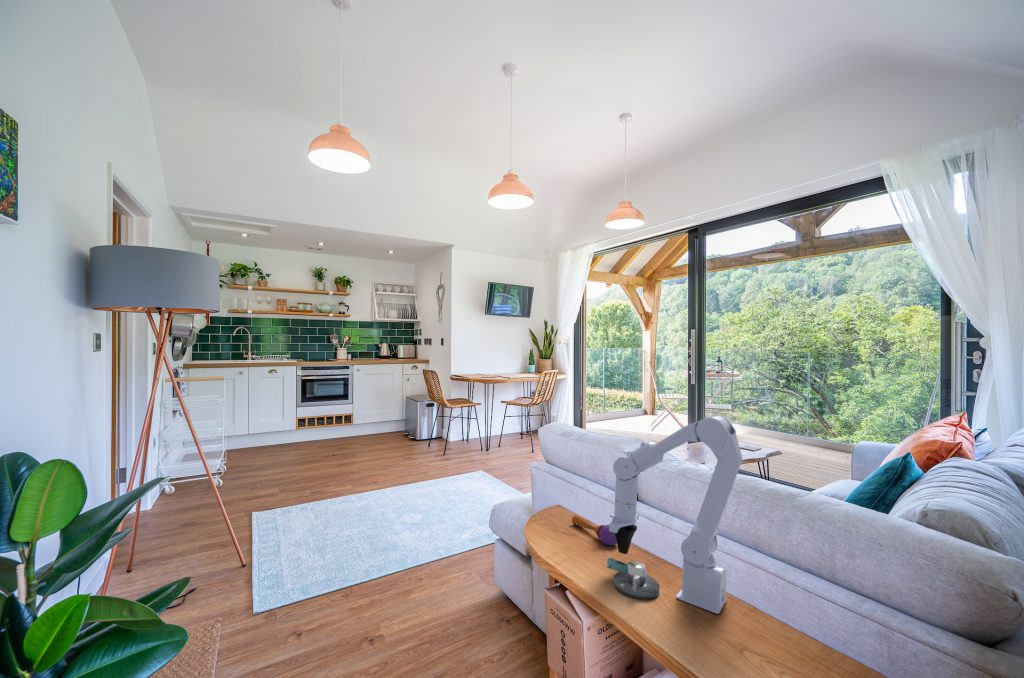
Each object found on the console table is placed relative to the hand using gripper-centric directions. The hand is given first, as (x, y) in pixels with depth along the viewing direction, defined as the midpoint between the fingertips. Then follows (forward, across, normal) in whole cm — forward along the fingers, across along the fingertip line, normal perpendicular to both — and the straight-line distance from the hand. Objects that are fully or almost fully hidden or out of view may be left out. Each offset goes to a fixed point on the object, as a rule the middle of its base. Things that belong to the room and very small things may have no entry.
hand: (623, 552), depth 114 cm
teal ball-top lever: (+3, +5, +3) cm, 7 cm away
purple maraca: (+6, -17, -17) cm, 24 cm away
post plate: (+5, +5, +6) cm, 10 cm away
